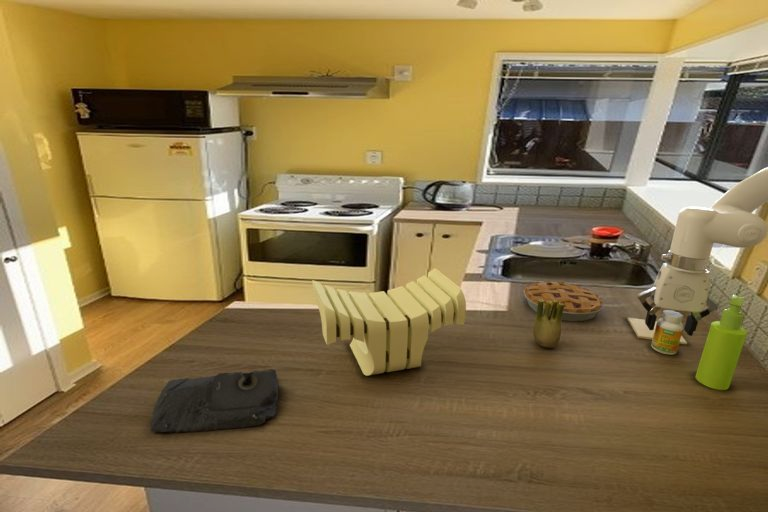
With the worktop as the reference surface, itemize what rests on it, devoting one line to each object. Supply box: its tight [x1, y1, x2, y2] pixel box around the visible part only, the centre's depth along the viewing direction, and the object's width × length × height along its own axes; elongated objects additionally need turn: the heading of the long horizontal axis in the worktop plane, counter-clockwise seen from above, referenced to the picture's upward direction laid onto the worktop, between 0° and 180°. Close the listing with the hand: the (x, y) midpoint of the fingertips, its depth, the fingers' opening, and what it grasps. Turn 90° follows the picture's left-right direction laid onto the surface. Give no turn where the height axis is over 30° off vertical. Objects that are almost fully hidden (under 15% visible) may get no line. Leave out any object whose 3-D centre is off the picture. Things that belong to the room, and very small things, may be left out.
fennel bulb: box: [533, 300, 565, 349], centre depth 103 cm, size 6×5×12 cm
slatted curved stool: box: [311, 267, 467, 377], centre depth 94 cm, size 30×16×18 cm, turn 108°
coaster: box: [627, 317, 688, 345], centre depth 113 cm, size 11×11×1 cm
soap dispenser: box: [695, 294, 748, 391], centre depth 88 cm, size 6×7×20 cm
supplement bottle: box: [650, 309, 685, 356], centre depth 103 cm, size 5×5×10 cm
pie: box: [523, 280, 604, 322], centre depth 125 cm, size 22×22×5 cm
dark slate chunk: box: [149, 368, 279, 434], centre depth 80 cm, size 15×22×5 cm
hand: (668, 330), depth 102 cm, fingers open, 7 cm apart
